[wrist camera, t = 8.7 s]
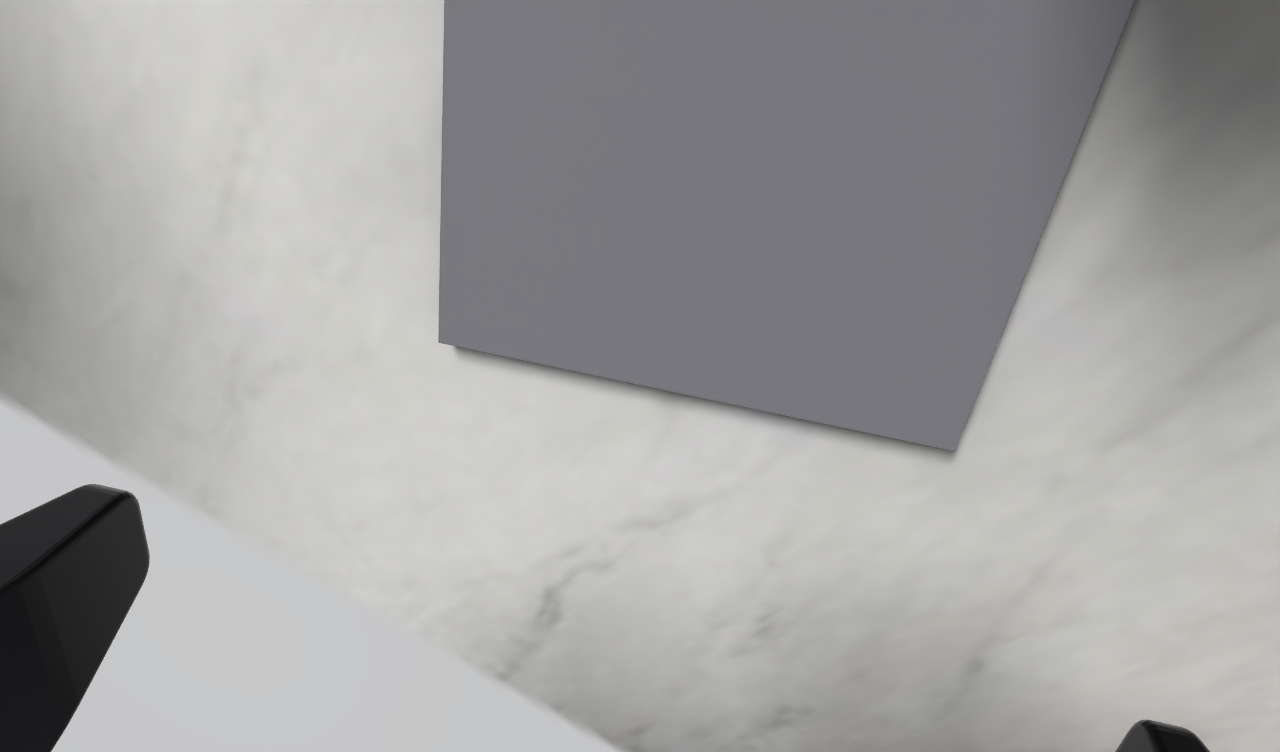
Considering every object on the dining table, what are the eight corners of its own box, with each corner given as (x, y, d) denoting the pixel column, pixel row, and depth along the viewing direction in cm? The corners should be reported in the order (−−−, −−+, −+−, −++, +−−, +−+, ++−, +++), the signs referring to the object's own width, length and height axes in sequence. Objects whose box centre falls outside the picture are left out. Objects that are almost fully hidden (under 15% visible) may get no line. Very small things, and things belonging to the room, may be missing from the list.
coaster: (1178, -142, 15) (1188, -136, 15) (952, 433, 22) (954, 451, 21) (461, -262, 16) (449, -260, 16) (448, 327, 22) (438, 342, 22)
